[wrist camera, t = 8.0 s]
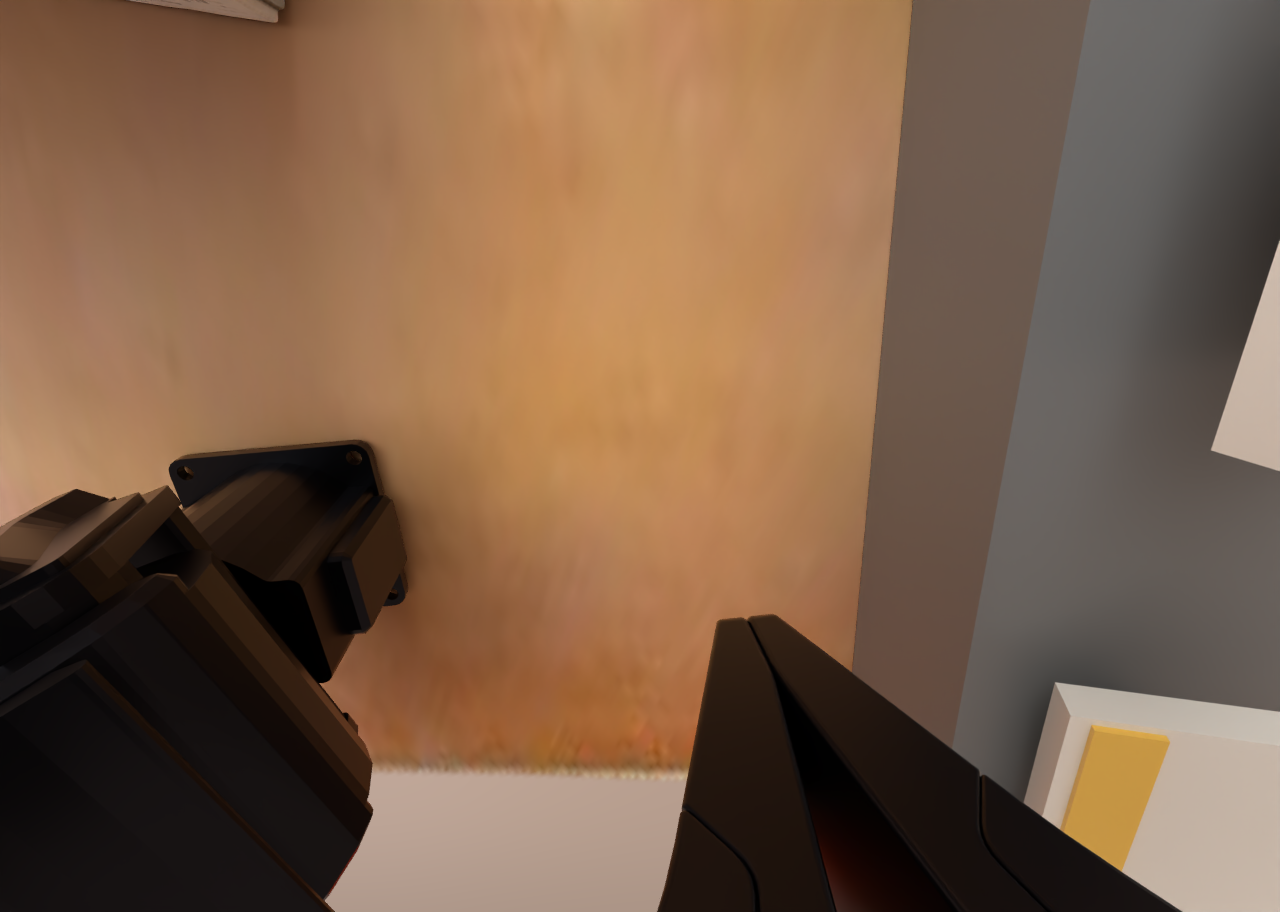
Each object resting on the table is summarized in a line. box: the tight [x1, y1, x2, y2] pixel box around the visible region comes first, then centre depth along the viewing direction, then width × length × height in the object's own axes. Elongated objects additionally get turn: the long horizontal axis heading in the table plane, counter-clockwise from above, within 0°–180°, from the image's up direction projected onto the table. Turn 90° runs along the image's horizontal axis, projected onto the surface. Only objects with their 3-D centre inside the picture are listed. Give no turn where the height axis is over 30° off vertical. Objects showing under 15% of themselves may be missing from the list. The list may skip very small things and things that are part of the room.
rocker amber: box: [1024, 682, 1280, 912], centre depth 17 cm, size 9×10×1 cm
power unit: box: [852, 0, 1280, 803], centre depth 18 cm, size 12×30×9 cm, turn 4°
